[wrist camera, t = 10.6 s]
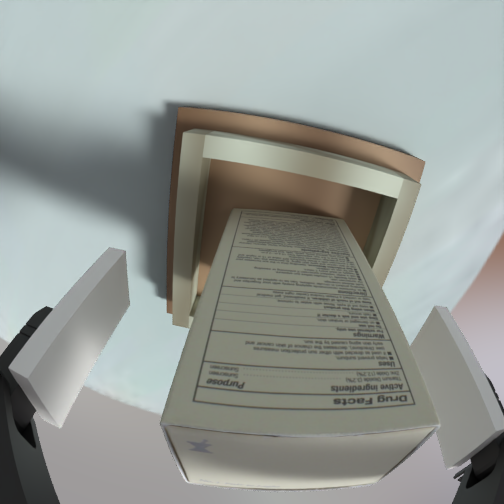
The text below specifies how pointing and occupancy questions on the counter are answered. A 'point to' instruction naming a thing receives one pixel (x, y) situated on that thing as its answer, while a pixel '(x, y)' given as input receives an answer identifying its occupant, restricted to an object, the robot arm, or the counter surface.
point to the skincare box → (294, 365)
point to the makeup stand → (277, 190)
